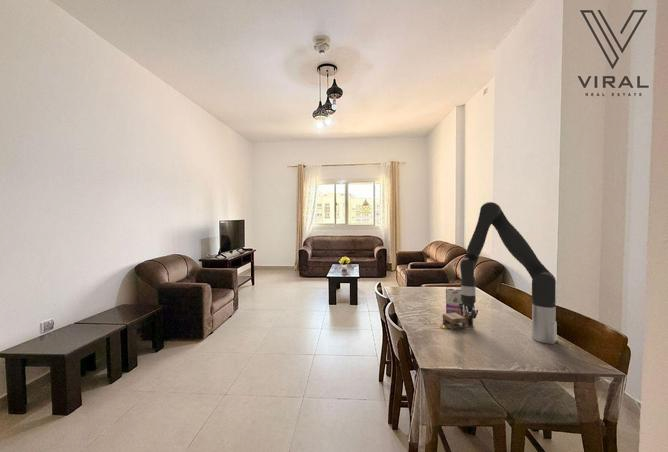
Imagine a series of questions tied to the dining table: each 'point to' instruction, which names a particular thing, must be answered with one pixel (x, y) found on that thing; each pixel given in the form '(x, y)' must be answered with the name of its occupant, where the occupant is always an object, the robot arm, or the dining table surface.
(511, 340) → the dining table surface
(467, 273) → the robot arm
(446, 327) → the brass token
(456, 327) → the brown l-shaped stand
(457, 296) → the candy bar box
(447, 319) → the walnut cabinet
